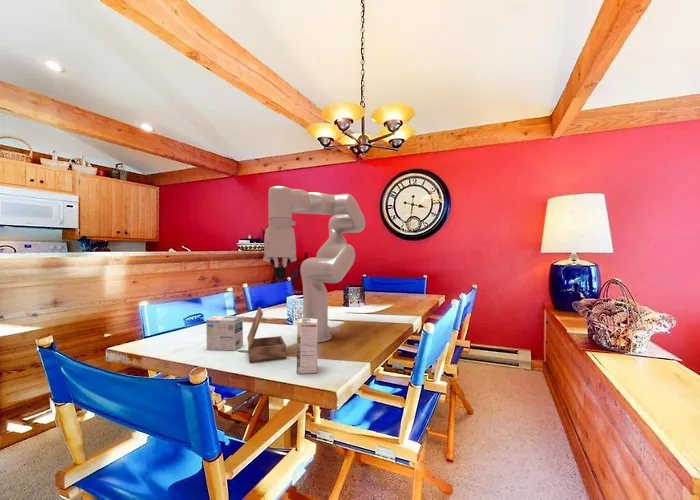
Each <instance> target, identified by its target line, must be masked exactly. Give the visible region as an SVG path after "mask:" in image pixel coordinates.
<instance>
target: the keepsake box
mask: <svg viewBox="0 0 700 500" xmlns="http://www.w3.org/2000/svg"><path fill="white" fill-rule="evenodd" d="M247 347H248V348H247V352H248V353H247V354H248V360H249V364H254V363H263V362H271V361H279V360H281V361H282V360H287V345H286V343H285V340H284V339H283V337H282V336H281V335H279V336H268V337H257V338H255V337H254V340H253V343H252V345H251V347H250V348H249V345H248V344H247Z"/></svg>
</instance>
